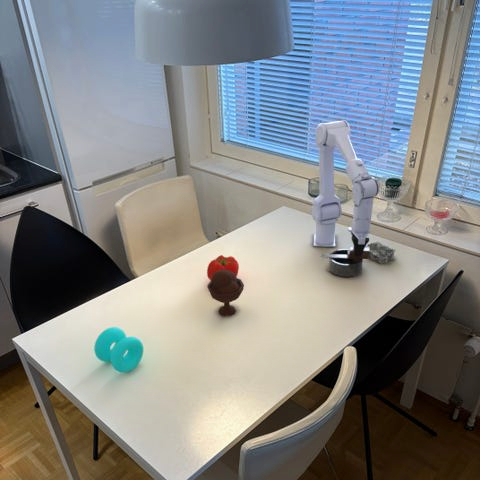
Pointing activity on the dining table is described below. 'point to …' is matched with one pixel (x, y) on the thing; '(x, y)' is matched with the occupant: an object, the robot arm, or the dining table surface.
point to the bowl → (344, 264)
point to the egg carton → (380, 252)
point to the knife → (349, 254)
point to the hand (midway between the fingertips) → (357, 253)
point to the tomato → (222, 265)
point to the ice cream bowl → (225, 290)
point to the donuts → (118, 349)
